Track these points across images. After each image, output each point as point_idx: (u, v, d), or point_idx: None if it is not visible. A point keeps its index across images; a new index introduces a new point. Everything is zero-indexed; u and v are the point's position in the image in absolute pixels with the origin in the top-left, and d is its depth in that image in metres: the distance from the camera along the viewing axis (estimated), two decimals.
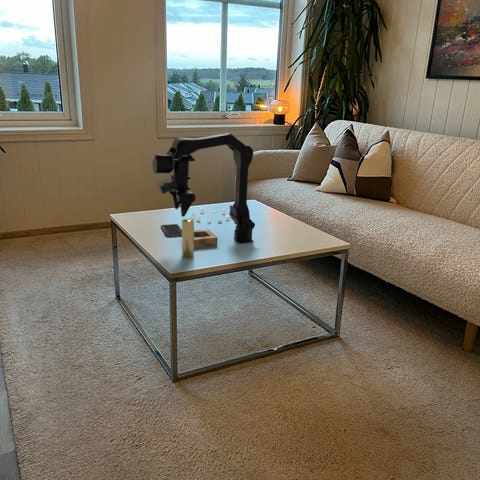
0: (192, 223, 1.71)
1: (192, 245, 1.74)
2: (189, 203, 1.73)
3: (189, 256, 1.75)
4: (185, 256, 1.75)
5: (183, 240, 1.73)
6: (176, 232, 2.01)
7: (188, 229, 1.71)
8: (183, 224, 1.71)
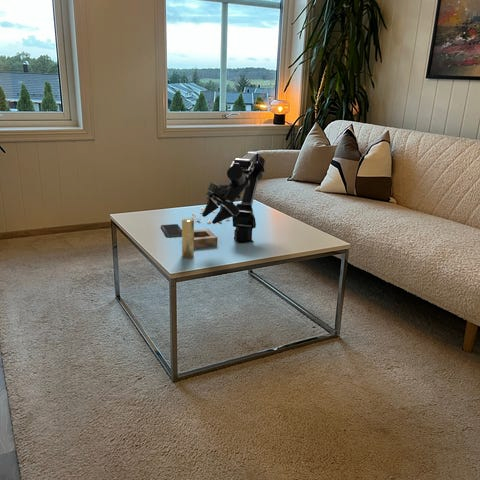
0: (192, 223, 1.71)
1: (192, 245, 1.74)
2: (227, 216, 1.72)
3: (189, 256, 1.75)
4: (185, 256, 1.75)
5: (183, 240, 1.73)
6: (176, 232, 2.01)
7: (188, 229, 1.71)
8: (183, 224, 1.71)
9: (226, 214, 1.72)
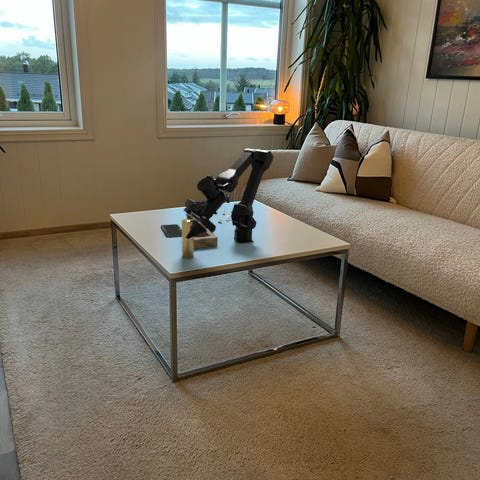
0: (192, 223, 1.71)
1: (192, 245, 1.74)
2: (201, 230, 1.72)
3: (189, 256, 1.75)
4: (185, 256, 1.75)
5: (183, 240, 1.73)
6: (176, 232, 2.01)
7: (188, 229, 1.71)
8: (183, 224, 1.71)
9: (200, 229, 1.72)
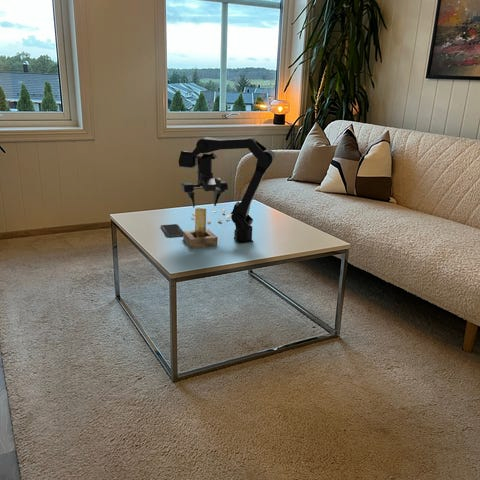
0: (205, 211, 1.86)
1: (204, 232, 1.89)
2: None
3: None
4: None
5: (196, 227, 1.88)
6: (176, 232, 2.01)
7: (201, 217, 1.86)
8: (196, 212, 1.86)
9: None
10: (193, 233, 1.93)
